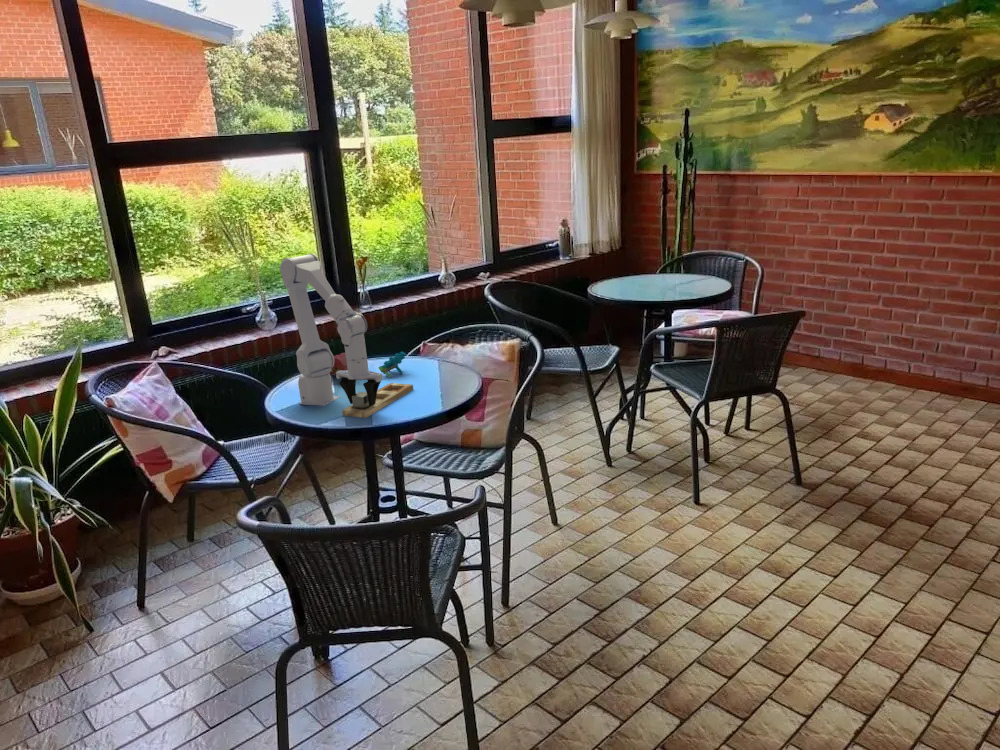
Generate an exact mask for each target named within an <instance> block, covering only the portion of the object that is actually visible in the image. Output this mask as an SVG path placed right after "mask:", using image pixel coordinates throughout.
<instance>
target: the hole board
mask: <svg viewBox="0 0 1000 750" xmlns="http://www.w3.org/2000/svg"><path fill="white" fill-rule="evenodd" d="M411 391H414V385H413V384H409V383H396V382H390V383H388V384H386V385H384V386H382V387H381V388H378V390H377V395H376V403H375V404H374V405H373V406H371V407H369V408H368V409H366V410H362V409H353V404H351V405H349V406H347V407H345V408H344V409H342V410H341V411H342V416H344V417H345V416H346V417H355V418H368V417H370V416H372V415H374V414H375V413H377V412H378V411H380V410H382V409H383V408H385V407H386V406H388V405H390V404H392V403H394V402H395V401H397V400H399V399H400V398H402V397H403V396H405V395H407V394H408V393H410V392H411Z"/></svg>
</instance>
